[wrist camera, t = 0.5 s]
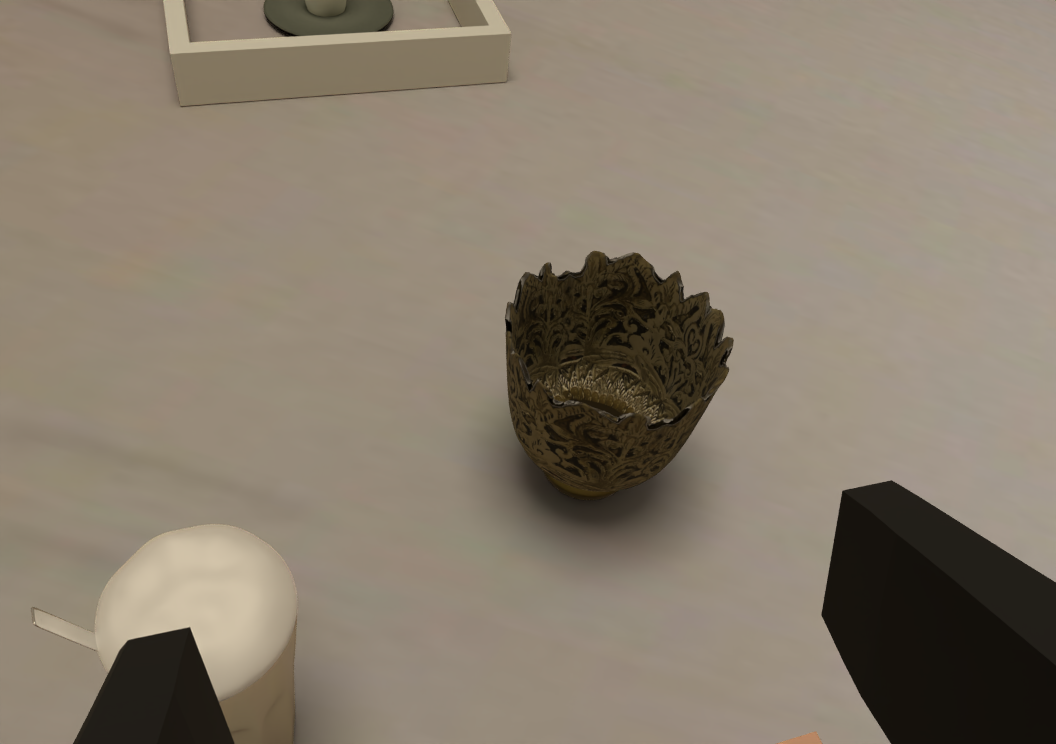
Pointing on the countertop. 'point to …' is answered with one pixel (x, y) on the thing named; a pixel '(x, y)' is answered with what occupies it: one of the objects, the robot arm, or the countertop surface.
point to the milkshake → (209, 620)
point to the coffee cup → (328, 16)
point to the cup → (609, 371)
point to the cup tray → (339, 59)
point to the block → (804, 739)
